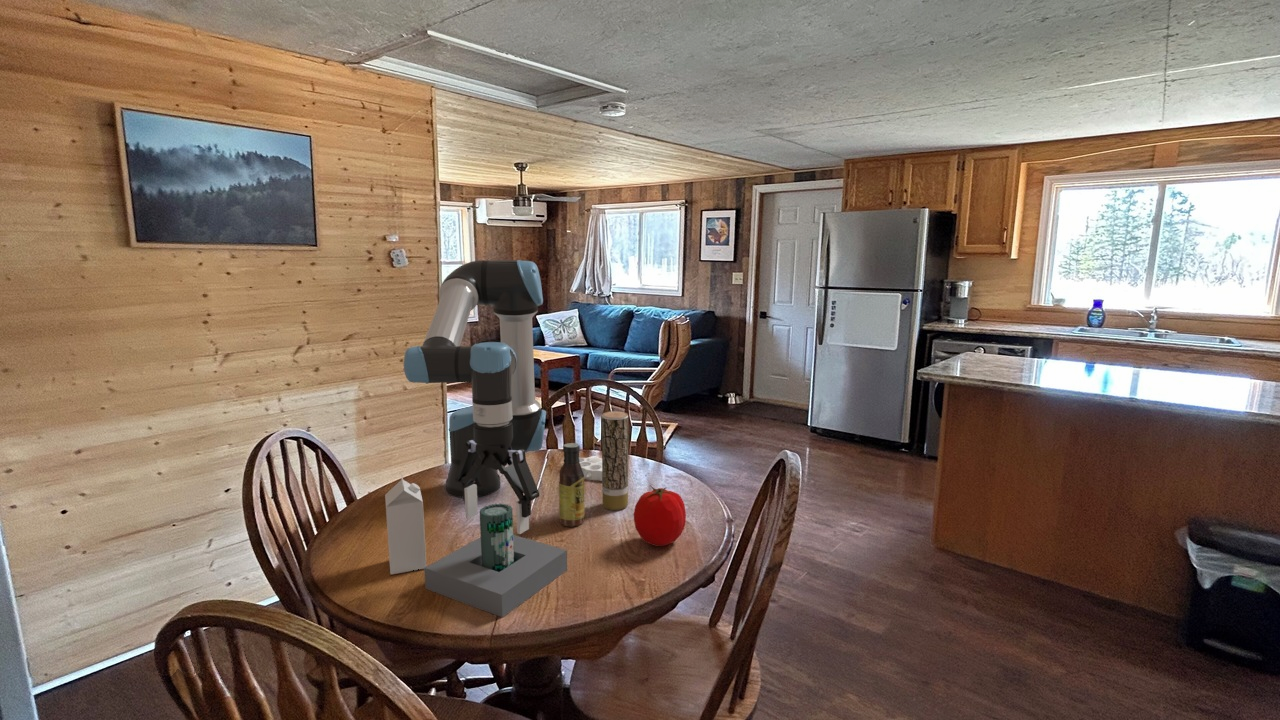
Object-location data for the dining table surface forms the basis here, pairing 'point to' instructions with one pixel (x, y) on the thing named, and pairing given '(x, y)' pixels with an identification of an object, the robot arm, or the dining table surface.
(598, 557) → the dining table surface
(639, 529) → the tomato
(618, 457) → the paper tube
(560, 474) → the sauce bottle
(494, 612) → the socket block
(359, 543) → the dining table surface
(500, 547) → the can
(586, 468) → the white muffin tray
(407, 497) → the milk carton
